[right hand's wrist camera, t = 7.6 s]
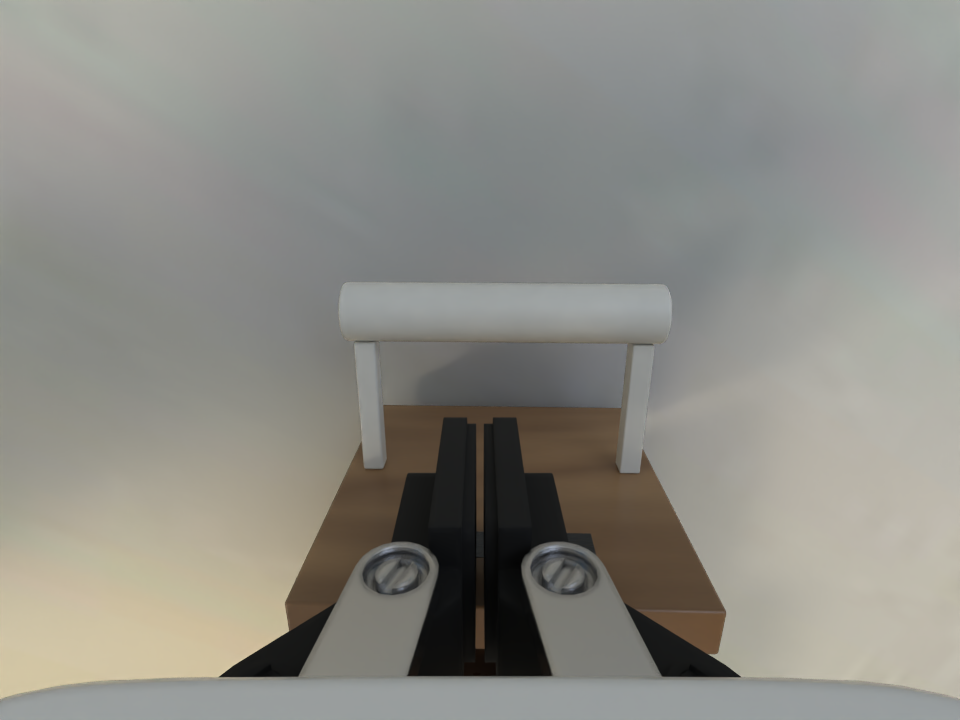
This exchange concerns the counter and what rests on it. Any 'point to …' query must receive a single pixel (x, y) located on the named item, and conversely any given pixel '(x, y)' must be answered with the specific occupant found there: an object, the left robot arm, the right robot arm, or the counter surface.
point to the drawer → (543, 439)
